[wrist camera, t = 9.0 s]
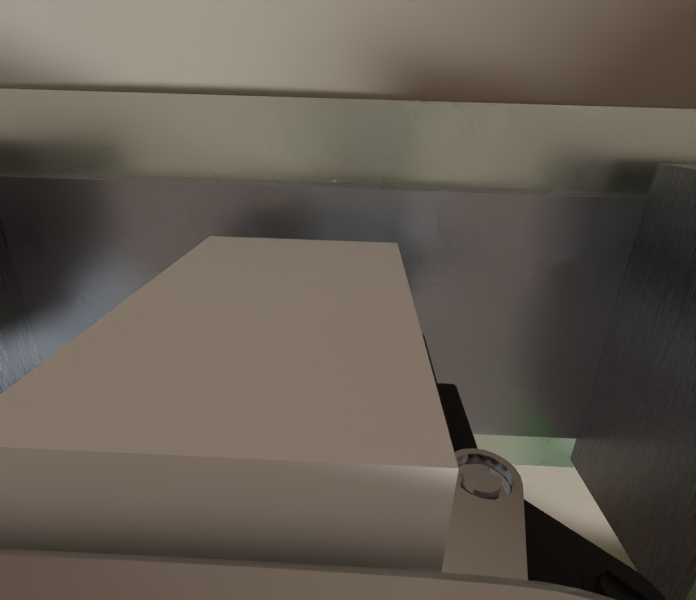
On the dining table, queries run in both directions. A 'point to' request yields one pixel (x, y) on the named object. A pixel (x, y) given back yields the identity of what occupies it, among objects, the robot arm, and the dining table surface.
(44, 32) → the dining table surface
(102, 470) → the block
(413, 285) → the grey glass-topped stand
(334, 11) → the dining table surface
